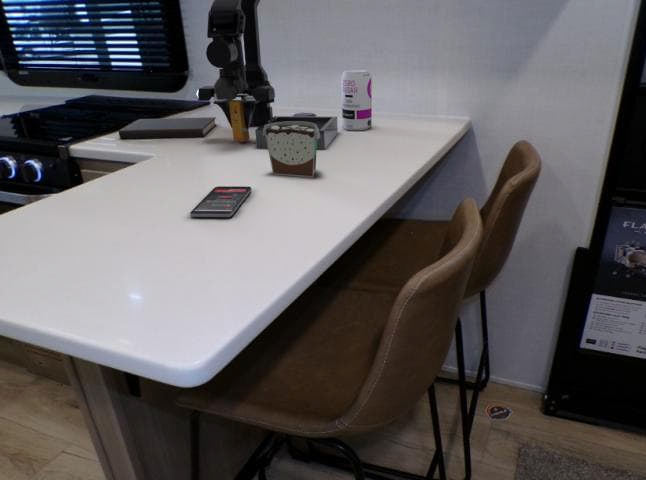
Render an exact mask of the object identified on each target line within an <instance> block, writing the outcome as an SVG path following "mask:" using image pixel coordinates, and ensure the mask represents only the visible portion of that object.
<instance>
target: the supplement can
mask: <svg viewBox="0 0 646 480" xmlns="http://www.w3.org/2000/svg"><path fill="white" fill-rule="evenodd" d="M340 79H341V81H340V83H341V84H340V85H341V111H342V113H341V114H342V115H341V116H342V127H343V128H344V129H345V130H347V131H354V132H355V131H356V132H357V131H358V132H359V131H366V130H369V129H370V127H372V124H373V122H372V121H373V120H372V119H373V117H372V116H373V115H372V109H373V108H372V99H373V98H372V95H373V94H372V90H373V89H372V84H373V83H372V81H373V80H372V75H371V71H370V70H369V69H364V68H362V69H359V68H358V69H355V68H354V69H345V70H343V72H342V75H341V77H340Z"/></svg>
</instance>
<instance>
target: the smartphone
mask: <svg viewBox="0 0 646 480" xmlns="http://www.w3.org/2000/svg"><path fill="white" fill-rule="evenodd" d="M251 191H252V187H251V186H231V185H230V186H221V185H219V186H215V187H214V188H212V189H211V190H210V191H209V192H208V194H206V195H205V197H204V198H202V200H201V201H199V203H198V204H197V205H196V206H195V207H194V208H193V209H192V210H191V211H190V212H189V216H190V217H192V218H214V219H215V218H217V219H218V218H222V219H223V218H224V219H225V218H231V217H232V216H233V215H234V214H235V212H236V211H237V210H238V208H239V207H241V204H242V203H243V202H244V201H245V199H246V198H247V197H248V196H249V194H250V193H251Z"/></svg>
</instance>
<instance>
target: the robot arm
mask: <svg viewBox="0 0 646 480" xmlns="http://www.w3.org/2000/svg"><path fill="white" fill-rule="evenodd" d="M260 3H261V0H213V2H212V4H211V6H210V8H209V11H208V16H207V30H206V31H207V33H206V37H207V39H212V41H210V42H209V43H208V45H207V47H206V51H205V55H206V59H207V61H208V62H209V63H210V64H211V66H213V67H215V68H218V69H219V70H218V72H219V77H218V78H217V80H216V81H215V83H214V85H205V86H202V87H199V88H198V89H197V91H196V97H197V101H198V102H209V101H211V100H212V98H213V105H217V106H218V107H219V108H220V109H221V111H222V112H223V114H224V116H225V117H226V120H227V121H228V123H229V126H230V128H231V129H232V122H231V114H230V106H229V101H230V100H236V99H237V98H240V100H245V102H243V105H244V108H245V122H246V128H247V129H249V130H250V126H251V127H253V126H254V127H260V126H262V125H263V124H264V123H266V122H267V121H269V120H270V119H272V118H273V117H274V114H273V106H271V104H272V103H275V98H276V92H275V88H274V87H273V86H272V85H271V82H270V80H269V76H268V73H267V72H266V70H265V69H264V67H263V65H262V57H261V56H262V55H261V44H260V43H261V42H260V29H259V15H258V13H259V12H258V6H259V4H260Z"/></svg>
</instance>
